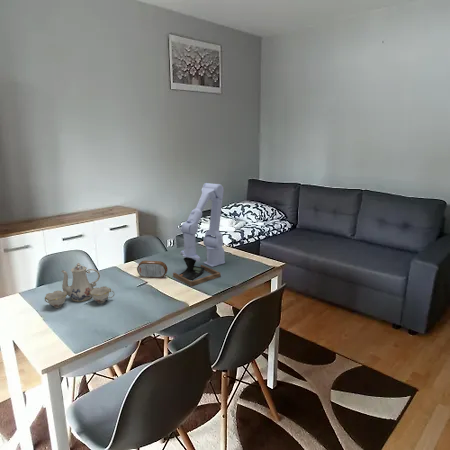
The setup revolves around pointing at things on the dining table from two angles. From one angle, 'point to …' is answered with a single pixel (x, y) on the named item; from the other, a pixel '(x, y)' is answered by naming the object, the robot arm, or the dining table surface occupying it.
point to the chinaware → (78, 288)
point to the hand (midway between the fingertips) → (190, 271)
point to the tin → (152, 269)
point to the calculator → (192, 273)
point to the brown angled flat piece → (201, 280)
